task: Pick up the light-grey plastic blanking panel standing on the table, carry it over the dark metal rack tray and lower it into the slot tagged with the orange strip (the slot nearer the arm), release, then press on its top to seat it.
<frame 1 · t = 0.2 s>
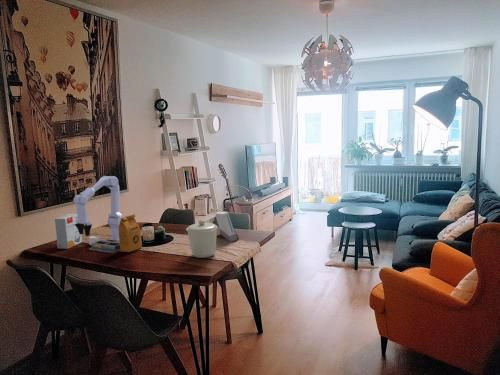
hand: (84, 234, 243), 10 cm above the table, fingers open, 7 cm apart
rack: (108, 248, 245), on the table
canister: (203, 255, 225), on the table
panel: (95, 244, 256), on the table
hard drive box: (70, 245, 256), on the table
coffee package: (131, 250, 240), on the table
gaming console: (227, 237, 259), on the table
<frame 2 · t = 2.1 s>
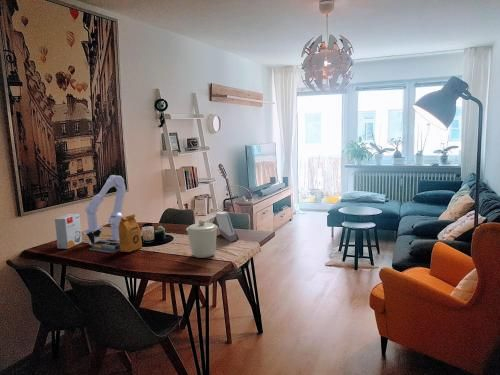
hand: (94, 242, 256), 1 cm above the table, fingers closed on panel, 3 cm apart
panel: (95, 244, 256), on the table, touching gripper
everything else where it was.
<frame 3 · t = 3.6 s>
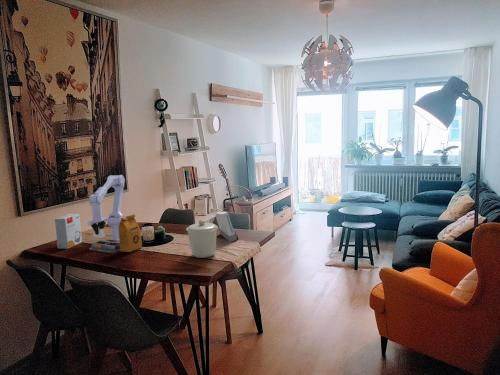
hand: (99, 233, 248), 9 cm above the table, fingers closed on panel, 3 cm apart
panel: (99, 236, 248), point 7 cm above the table, touching gripper
everything else where it was.
when the fingers open (4 cm above the table, at t = 5.3 s): panel stays where it is, resting on rack.
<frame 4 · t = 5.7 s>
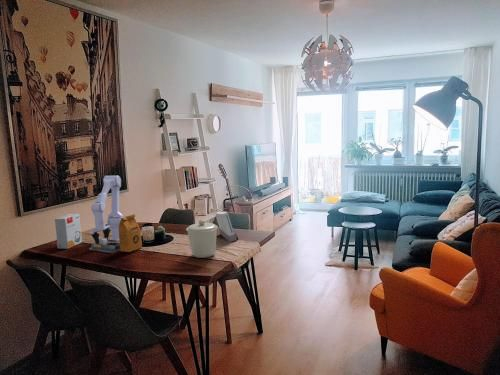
hand: (101, 242, 247), 4 cm above the table, fingers open, 7 cm apart
panel: (102, 246, 247), point 1 cm above the table, touching rack
everything else where it was.
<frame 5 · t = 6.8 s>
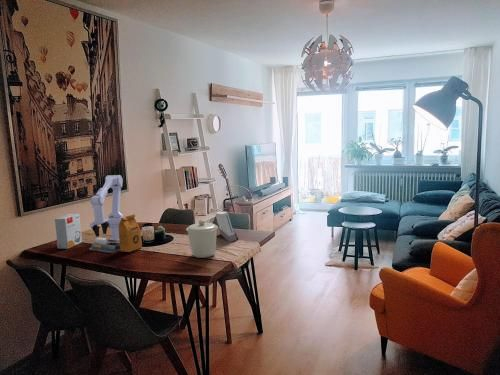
hand: (101, 235, 246), 8 cm above the table, fingers open, 5 cm apart
nothing on the table moved.
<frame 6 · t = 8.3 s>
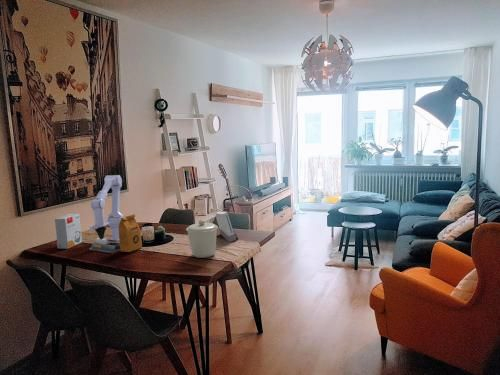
hand: (101, 238, 246), 6 cm above the table, fingers closed
nothing on the table moved.
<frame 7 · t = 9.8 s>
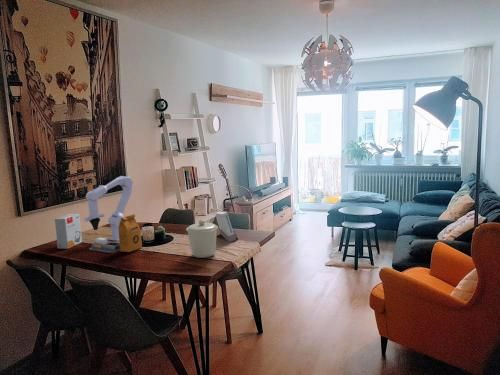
hand: (95, 229, 255), 10 cm above the table, fingers closed
nothing on the table moved.
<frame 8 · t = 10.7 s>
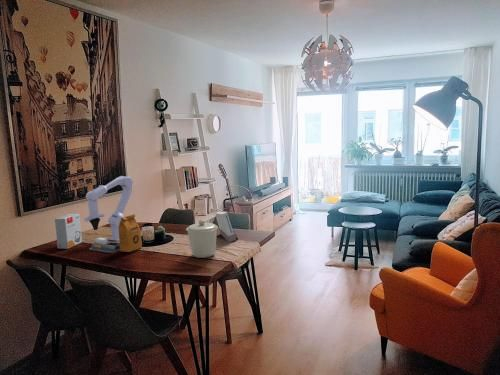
hand: (95, 229, 255), 10 cm above the table, fingers closed
nothing on the table moved.
at the end: panel 0.2 cm from the target spot on the rack, point 1.1 cm above the rack's base; panel tilted 0°; the gripper is holding nothing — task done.
